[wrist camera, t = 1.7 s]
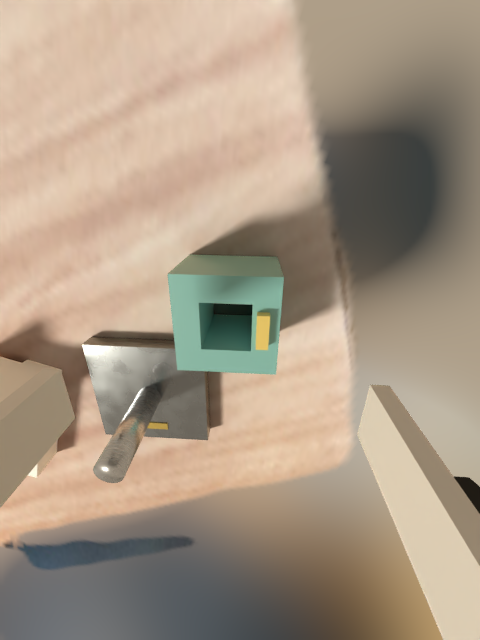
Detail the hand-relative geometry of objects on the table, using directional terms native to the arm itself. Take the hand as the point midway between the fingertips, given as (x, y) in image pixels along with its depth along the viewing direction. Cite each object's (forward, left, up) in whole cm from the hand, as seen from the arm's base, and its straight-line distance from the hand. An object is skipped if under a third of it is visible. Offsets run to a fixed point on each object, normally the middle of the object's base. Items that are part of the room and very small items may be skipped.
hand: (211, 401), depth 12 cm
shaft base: (+10, -8, -13) cm, 18 cm away
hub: (0, 0, -13) cm, 13 cm away
